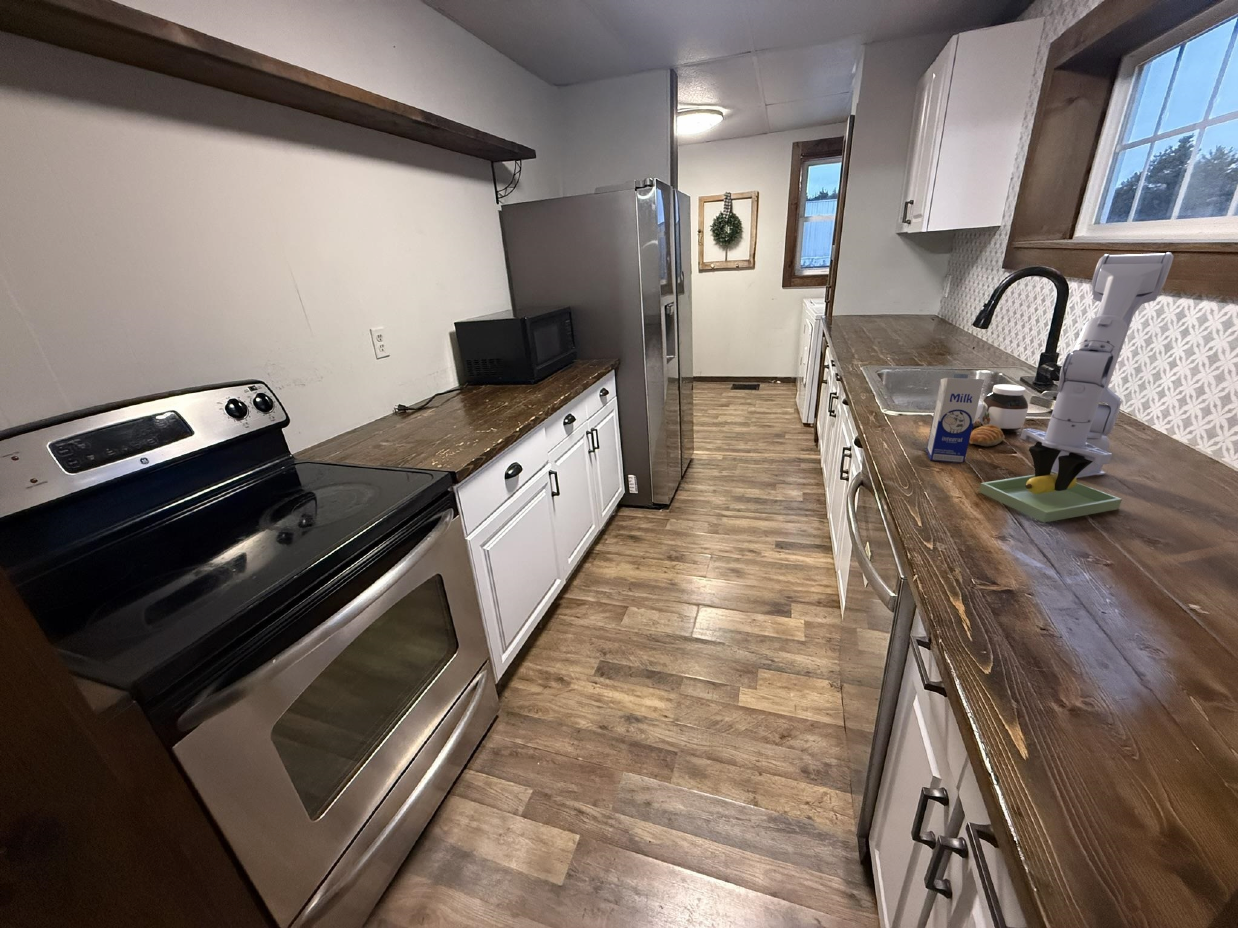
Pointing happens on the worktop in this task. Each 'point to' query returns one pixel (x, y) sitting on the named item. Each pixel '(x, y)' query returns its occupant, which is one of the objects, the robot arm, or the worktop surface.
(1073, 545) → the worktop surface
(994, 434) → the pastry
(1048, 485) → the banana
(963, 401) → the milk carton
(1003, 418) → the spread jar
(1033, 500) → the tray
